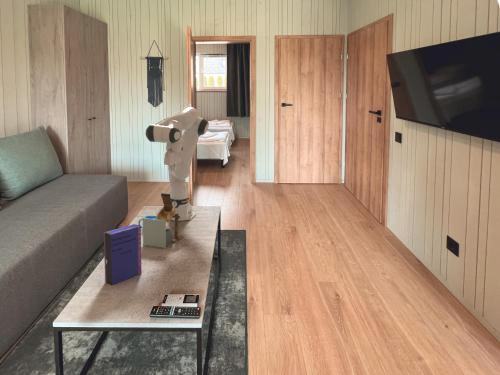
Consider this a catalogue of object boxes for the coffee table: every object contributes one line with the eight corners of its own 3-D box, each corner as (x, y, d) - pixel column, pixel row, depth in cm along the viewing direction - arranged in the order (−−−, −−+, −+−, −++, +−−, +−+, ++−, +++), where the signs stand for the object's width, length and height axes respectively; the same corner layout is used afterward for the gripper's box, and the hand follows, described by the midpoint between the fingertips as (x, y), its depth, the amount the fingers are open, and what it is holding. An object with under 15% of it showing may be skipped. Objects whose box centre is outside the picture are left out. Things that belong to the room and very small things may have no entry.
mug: (159, 228, 309) (158, 216, 307) (155, 232, 301) (155, 219, 299) (140, 227, 310) (140, 215, 308) (136, 231, 302) (136, 218, 300)
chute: (164, 212, 291) (159, 192, 282) (177, 213, 288) (172, 193, 280) (156, 222, 283) (151, 202, 275) (170, 224, 280) (165, 203, 272)
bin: (153, 240, 286) (152, 213, 283) (174, 243, 282) (174, 216, 279) (143, 245, 276) (142, 218, 272) (165, 248, 271) (165, 221, 268)
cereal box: (134, 271, 238) (133, 223, 233) (141, 274, 235) (140, 225, 230) (105, 282, 224) (103, 231, 219) (112, 285, 221) (110, 234, 216)
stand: (161, 235, 296) (161, 209, 293) (183, 238, 292) (183, 211, 288) (153, 239, 287) (153, 213, 283) (175, 242, 282) (175, 215, 279)
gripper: (172, 149, 279) (170, 173, 282) (184, 147, 299) (182, 170, 302) (162, 148, 281) (160, 172, 283) (174, 146, 300) (173, 168, 303)
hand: (172, 171), depth 292 cm, fingers closed
